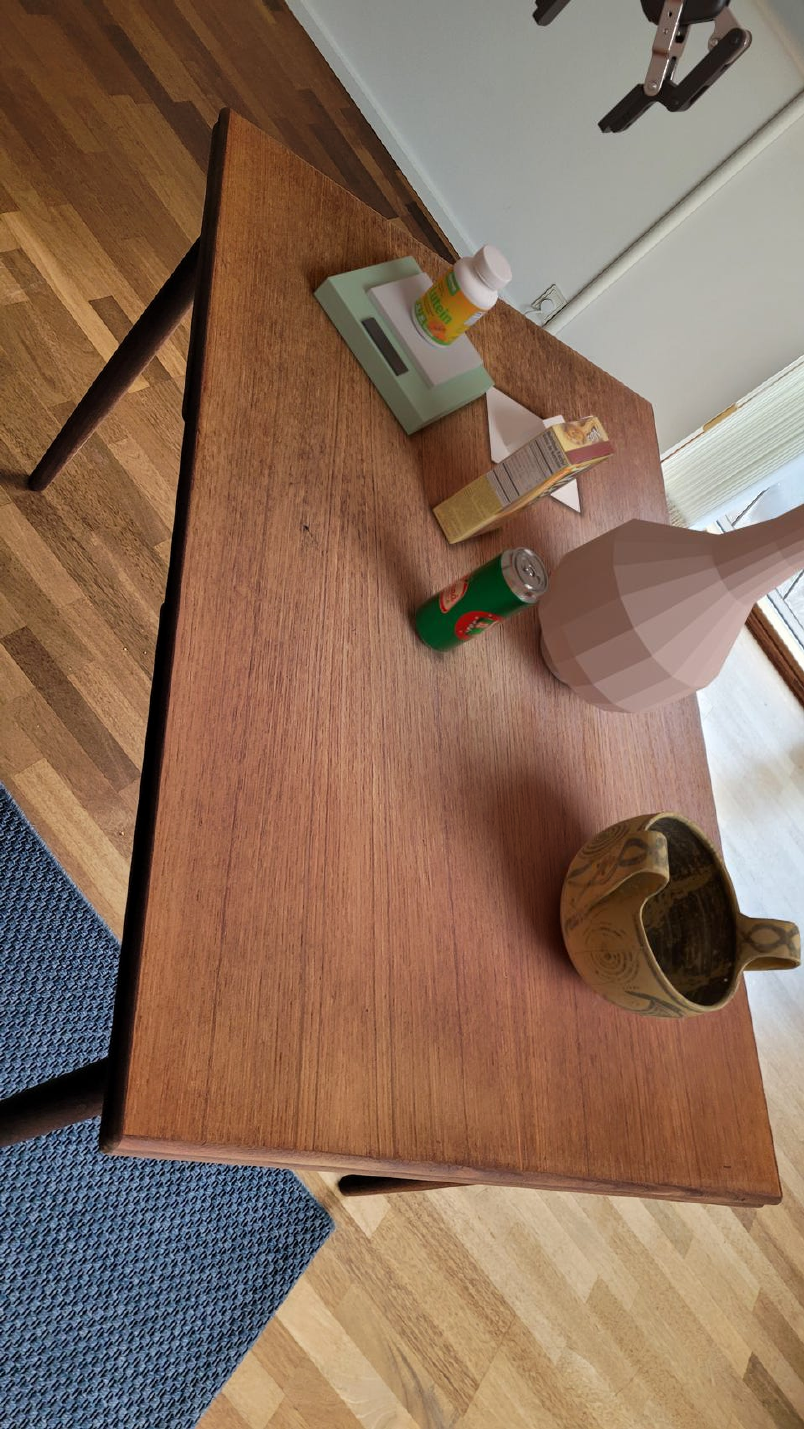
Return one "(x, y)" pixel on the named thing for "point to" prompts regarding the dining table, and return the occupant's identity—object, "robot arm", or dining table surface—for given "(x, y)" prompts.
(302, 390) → the dining table surface
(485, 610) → the soda can
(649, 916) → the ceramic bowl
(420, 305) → the supplement bottle
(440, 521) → the candy box
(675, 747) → the dining table surface
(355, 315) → the scale
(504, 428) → the napkin holder
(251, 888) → the dining table surface
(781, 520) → the vase
